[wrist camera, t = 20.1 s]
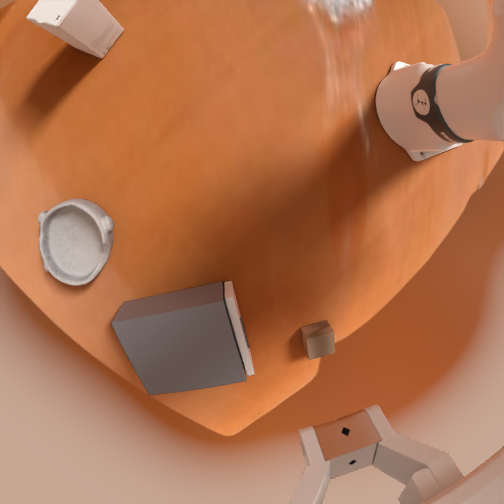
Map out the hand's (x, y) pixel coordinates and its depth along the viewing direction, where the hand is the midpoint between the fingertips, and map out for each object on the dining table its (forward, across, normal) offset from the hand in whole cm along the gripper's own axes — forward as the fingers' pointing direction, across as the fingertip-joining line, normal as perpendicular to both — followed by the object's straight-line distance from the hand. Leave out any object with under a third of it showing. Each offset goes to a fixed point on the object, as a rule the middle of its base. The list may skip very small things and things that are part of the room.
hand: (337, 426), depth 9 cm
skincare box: (+37, +18, -37) cm, 56 cm away
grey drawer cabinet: (+37, +15, +17) cm, 43 cm away
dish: (+38, +28, -4) cm, 47 cm away
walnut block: (+37, -8, +24) cm, 45 cm away
